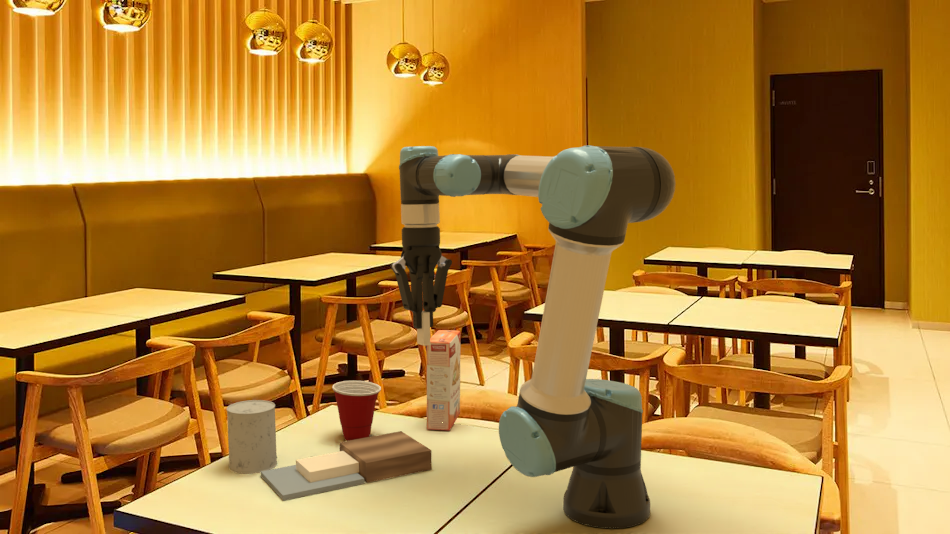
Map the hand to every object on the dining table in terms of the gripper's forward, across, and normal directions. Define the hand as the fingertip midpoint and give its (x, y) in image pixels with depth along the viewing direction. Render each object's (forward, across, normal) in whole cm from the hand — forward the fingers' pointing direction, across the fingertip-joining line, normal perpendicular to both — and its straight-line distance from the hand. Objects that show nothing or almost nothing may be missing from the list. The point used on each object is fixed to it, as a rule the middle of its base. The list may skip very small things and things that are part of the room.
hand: (423, 344), depth 170 cm
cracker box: (+25, -18, -23) cm, 39 cm away
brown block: (+25, +7, -6) cm, 26 cm away
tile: (+24, +19, -6) cm, 31 cm away
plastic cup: (+25, +4, -24) cm, 35 cm away
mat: (+25, +22, -6) cm, 34 cm away
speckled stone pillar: (+25, +29, -20) cm, 43 cm away
